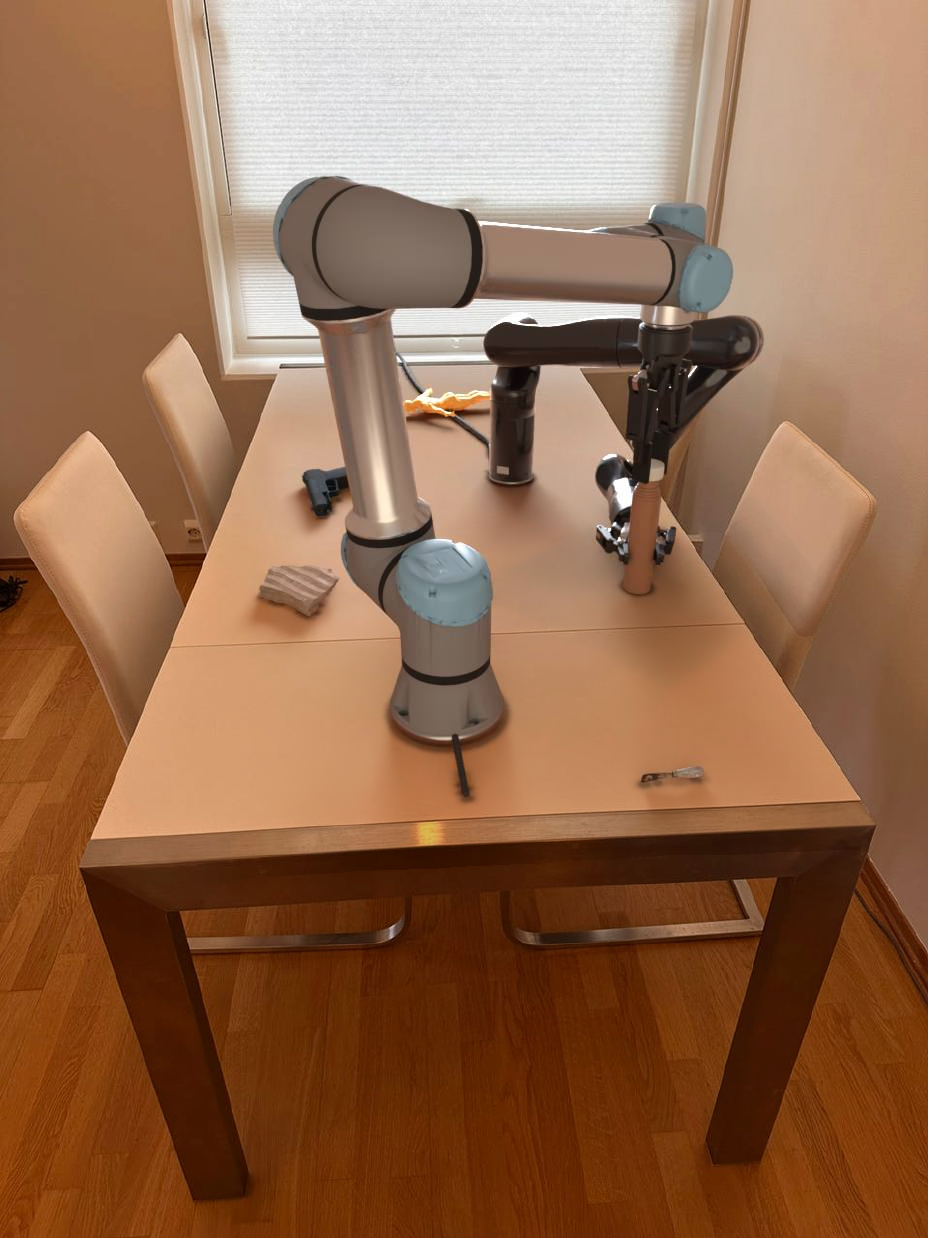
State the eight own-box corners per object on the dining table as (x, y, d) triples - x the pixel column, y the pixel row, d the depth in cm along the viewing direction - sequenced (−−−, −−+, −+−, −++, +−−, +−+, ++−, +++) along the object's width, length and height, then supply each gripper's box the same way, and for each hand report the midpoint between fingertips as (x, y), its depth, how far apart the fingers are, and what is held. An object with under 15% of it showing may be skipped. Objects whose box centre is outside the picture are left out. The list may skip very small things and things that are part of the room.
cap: (650, 468, 141) (652, 456, 140) (669, 478, 138) (670, 465, 137) (629, 474, 140) (630, 461, 139) (647, 483, 136) (648, 470, 135)
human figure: (395, 413, 223) (394, 398, 221) (438, 390, 237) (438, 375, 235) (462, 429, 215) (462, 413, 213) (502, 404, 229) (503, 388, 227)
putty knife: (703, 777, 109) (705, 767, 109) (642, 788, 108) (644, 777, 107) (700, 772, 110) (702, 762, 109) (639, 782, 109) (640, 771, 108)
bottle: (633, 577, 152) (646, 460, 141) (655, 587, 150) (670, 467, 138) (617, 587, 150) (629, 468, 138) (639, 597, 147) (654, 476, 135)
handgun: (372, 511, 175) (311, 519, 173) (357, 476, 189) (301, 482, 187) (371, 496, 173) (310, 504, 171) (356, 462, 188) (299, 468, 185)
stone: (348, 583, 151) (347, 570, 149) (311, 618, 141) (310, 604, 140) (283, 570, 155) (281, 557, 154) (243, 602, 146) (241, 589, 144)
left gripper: (654, 339, 119) (636, 500, 132) (721, 316, 130) (699, 467, 142) (608, 329, 124) (596, 485, 136) (677, 308, 134) (659, 455, 146)
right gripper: (592, 494, 156) (599, 538, 142) (674, 495, 156) (690, 540, 141) (589, 533, 160) (596, 579, 146) (669, 534, 160) (684, 581, 145)
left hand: (649, 476), depth 139 cm, fingers closed on cap, 4 cm apart
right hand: (642, 560), depth 144 cm, fingers closed on bottle, 4 cm apart
